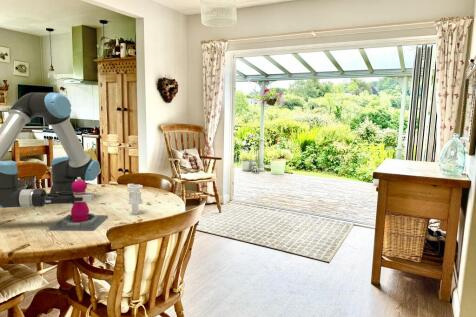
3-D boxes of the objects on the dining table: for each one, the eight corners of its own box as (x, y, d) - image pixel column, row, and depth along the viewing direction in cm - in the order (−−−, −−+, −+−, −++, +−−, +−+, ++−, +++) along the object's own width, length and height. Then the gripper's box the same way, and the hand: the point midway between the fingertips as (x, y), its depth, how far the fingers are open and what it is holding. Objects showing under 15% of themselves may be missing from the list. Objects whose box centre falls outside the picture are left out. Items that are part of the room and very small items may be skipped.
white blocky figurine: (128, 211, 165) (128, 182, 163) (142, 211, 166) (142, 182, 164) (127, 215, 158) (126, 185, 156) (142, 215, 160) (142, 185, 158)
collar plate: (68, 216, 153) (68, 211, 153) (107, 217, 154) (107, 212, 154) (49, 230, 136) (48, 224, 135) (93, 230, 137) (93, 225, 136)
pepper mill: (75, 218, 148) (73, 175, 146) (91, 218, 149) (90, 175, 146) (68, 223, 141) (66, 178, 138) (85, 223, 142) (84, 178, 139)
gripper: (41, 201, 148) (96, 199, 154) (26, 212, 131) (88, 210, 136) (41, 184, 148) (96, 184, 153) (25, 194, 130) (87, 193, 136)
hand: (92, 196), depth 145 cm, fingers closed on pepper mill, 5 cm apart
